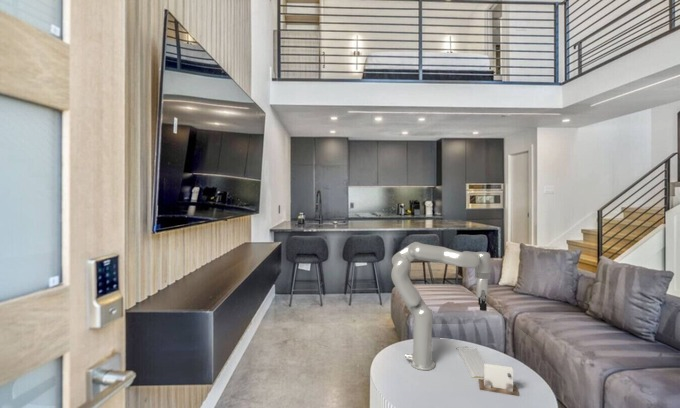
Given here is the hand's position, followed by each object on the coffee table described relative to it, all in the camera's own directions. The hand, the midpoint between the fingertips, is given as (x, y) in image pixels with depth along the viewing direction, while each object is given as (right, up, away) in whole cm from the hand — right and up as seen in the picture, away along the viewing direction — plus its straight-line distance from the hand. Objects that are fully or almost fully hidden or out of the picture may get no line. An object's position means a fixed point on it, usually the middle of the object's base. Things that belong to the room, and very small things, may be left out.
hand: (482, 307), depth 179 cm
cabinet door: (-2, -30, -22) cm, 37 cm away
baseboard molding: (-4, -31, +2) cm, 31 cm away
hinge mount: (-2, -31, -22) cm, 38 cm away
